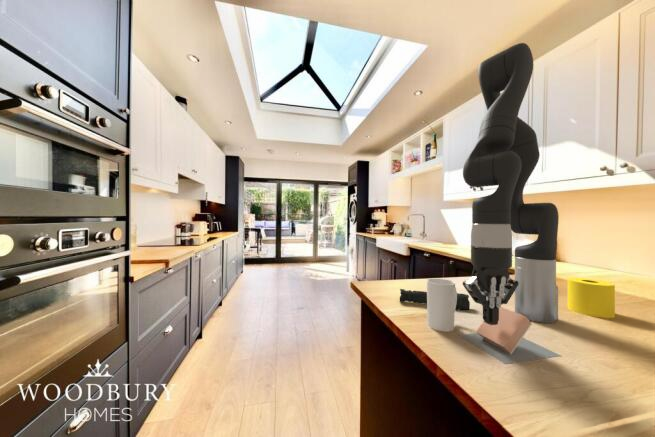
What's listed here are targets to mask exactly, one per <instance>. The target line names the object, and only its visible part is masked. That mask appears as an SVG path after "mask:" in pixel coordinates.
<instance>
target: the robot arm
mask: <svg viewBox="0 0 655 437" xmlns="http://www.w3.org/2000/svg"><path fill="white" fill-rule="evenodd" d="M477 69H478V70H477V77H478V78H477V79H478V82H479V87H480V90H481V91H480V92H481V93H482V97H483V100H484V105H485V107H486V112H485V114H484V116H483V118H482V120H481V123H480V128H479V132H478V137H477V138H478V139H477V141H476V143H475V144H474V146H473V148H472V149H471V151H470V153H469V154H468V156H467V158H466V160H465V162H464V164H463V169H462V177H463V180H464V182H465V184H466V185H468V186H469V187H471V188H472V187H473V188H483V187H484V188H485V187H492V186H497V187H496V188H497V189H495V191H494V192H493V193H492V194H489V195H484V196H480V197H478V198H475V199H474V200H473V202H472V206H471V212H472V214H471V217H472V218H471V219H472V220H471V221H472V222H471V223H472V225H471V231H470V263H471V265H472V266H473V269H472V272H471V277H470V278H469V280H463V282H462V286H463V287H464V289H465V290H466V292H467V293H468V295H469V297H471V298H472V301H474V303H477V304H478V305H479V304H480V305H481V307H482V319H483V322H485V323H487V324H489V325H497V324H498V321H499V308H500V307H502V305H507V304H508V303H509V301H510V299H511V298H512V297H513V295H514V312H515V313H518V314H521V315H523V316H526V317H527V319H528V320H529V321H532V322H537V323H538V322H539V323H544V324H553V323H554V324H555V323H556V322H557V320H559V286H558V285H557V250H558V231H559V221H560V219H559V211H558V208H557V206H556V204H554V203H552V202H537V203H536V202H531V203H525V201H524V197H523V196H524V194H523V193H524V189H525V187H526V184H527V182H528V180H529V178H531V175H532V174H533V172H534V170H535V168H536V166H537V164H538V163H539V161H540V149H539V143H538V137H537V134H536V131H535V130H534V129H533V128H532V126H530V125H529V124H528V123H527V122H525V121H524V120H523V119H521V118H520V117H519V112H520V109H521V106H522V104H523V100H524V98H525V96H526V93H527V90H528V87H529V85H530V82H531V79H532V75H533V70H534V57H533V53H532V50H531V48H530V46H529V45H528V44H527V43H525V42H520V43H516V44H514V45H512V46H509V47H507V48H506V49H504V50H503V51H500V52H499V53H497V54H494V55H492V56H491V57H490V56H489V57H488V58H487V59H485V60H483V61H482V62H481V63H480V64H479V66H478V68H477ZM512 232H513V233H515V234H518V235H519V234H520V235H535V236H536V235H537V238H536V240H535V241H533V242H530V243H528V244H524V245H519V246H516V247H515V248H514V279H513V278H512V277H511V276H510V271H509V269H511V268H512V267H513V233H512Z"/></svg>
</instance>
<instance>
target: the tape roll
mask: <svg viewBox="0 0 655 437" xmlns="http://www.w3.org/2000/svg"><path fill="white" fill-rule="evenodd" d="M615 288H616V284H615V283H614V282H613V283H612V282H609V281H606V280H600V279H593V278H586V277H585V278H584V277H568V278H567V309H568V310H570V311H571V312H574V313H578V314H582V315H585V316H589V317H590V316H591V317H593V318H595V317H596V318H602V319H603V318H604V319H614V318H615V317H616V316H615V315H616V314H615V313H616V308H615V307H616V304H615V303H616V297H615V296H616V295H615V294H616V293H615V292H616V290H615Z"/></svg>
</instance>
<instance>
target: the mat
mask: <svg viewBox="0 0 655 437" xmlns="http://www.w3.org/2000/svg"><path fill="white" fill-rule="evenodd" d="M458 336H459V337H461V338H463V340H464V339H465V340H466V341H467V342H469V343H471V344H472V345H474V346H475V347H477V348H478V349H481V350H482V351H484V353H487V354H488V355H490V356H492V357H493V358H495V359H497V360H498V361H500V362H502V363H503V364H505V365H509V364H510V365H511V364H516V363H522V362H529V361H536V360H542V359H548V358H549V359H550V358H551V359H552V358H555V357H562V355H560V354H558V353H557V352H555V351H552V350H551V349H548V348H546V347H544V346H542V345H539V344H537V343H534V342H533V341H531V340H529V339H527V338H524V337H523V338H522V340H521V341H520V342H519V344H518V345H517V347H516V348H515V350H514V351H513V352H512V354H509V353H508V352H506V351H504V350H502V349H501V348H499V347H497V346H495V345H493V344H492V343H490V342H488V341H486V340H485V339H483V338H482V337H481V336H480V335H479V334H478V333H477V332H475V333H468V334H467V333H465V334H459V335H458Z"/></svg>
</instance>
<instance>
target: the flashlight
mask: <svg viewBox="0 0 655 437" xmlns="http://www.w3.org/2000/svg"><path fill="white" fill-rule="evenodd" d="M399 291H400V296H399V302H400V303H401V302H402V303H404V302H409V303H414V304H424V305H427V291H423V290H420V291H419V290H413V291H412V290H405V288H400V289H399ZM469 298H470V295H469V294H465V293H457V303H456V309H455V310H459V311H469V310H471V309H470V308H471V306H470V305H471V302H470V300H469Z"/></svg>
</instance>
